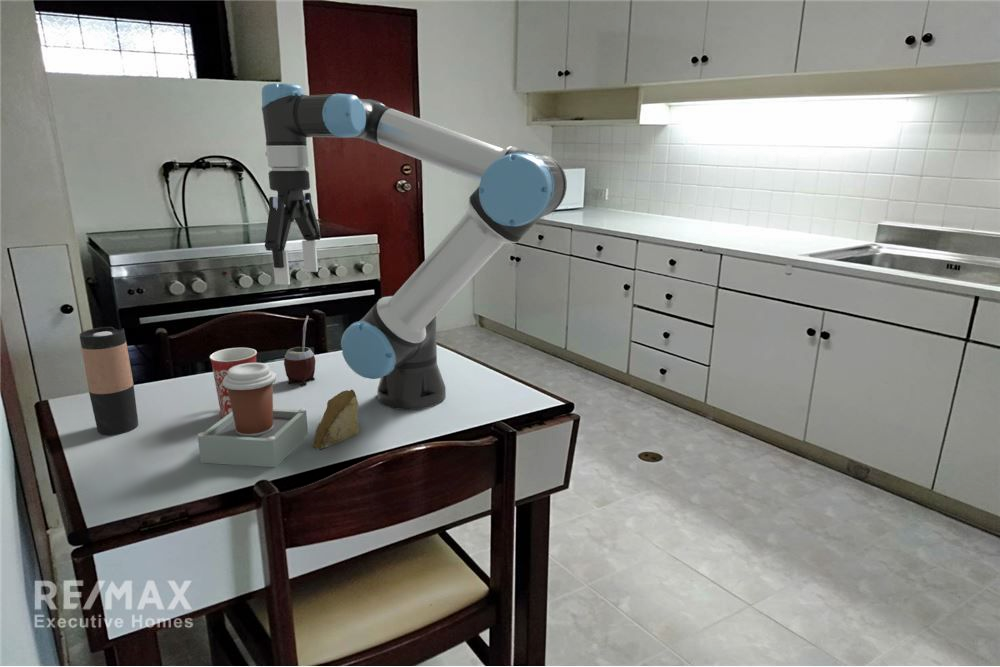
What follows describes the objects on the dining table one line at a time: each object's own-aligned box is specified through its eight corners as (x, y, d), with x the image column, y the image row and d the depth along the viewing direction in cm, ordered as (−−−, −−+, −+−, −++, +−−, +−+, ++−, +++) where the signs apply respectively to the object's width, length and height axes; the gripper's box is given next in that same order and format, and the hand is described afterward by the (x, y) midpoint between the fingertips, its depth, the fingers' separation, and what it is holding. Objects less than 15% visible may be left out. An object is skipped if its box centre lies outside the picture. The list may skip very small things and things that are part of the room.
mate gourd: (290, 388, 153) (284, 326, 149) (282, 379, 160) (276, 319, 156) (322, 383, 157) (317, 322, 153) (313, 373, 163) (308, 315, 159)
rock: (316, 446, 119) (369, 428, 123) (301, 402, 121) (353, 386, 125) (312, 459, 128) (361, 442, 132) (298, 418, 130) (347, 402, 134)
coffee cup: (286, 419, 126) (281, 360, 123) (272, 440, 118) (266, 376, 114) (238, 420, 126) (231, 360, 123) (220, 440, 117) (212, 377, 114)
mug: (264, 419, 136) (258, 357, 132) (217, 426, 133) (209, 362, 129) (260, 398, 147) (254, 341, 144) (216, 404, 144) (209, 345, 140)
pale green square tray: (308, 434, 129) (306, 408, 127) (275, 467, 115) (273, 439, 114) (240, 430, 131) (237, 404, 129) (200, 462, 117) (196, 434, 116)
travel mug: (95, 438, 127) (76, 339, 122) (97, 424, 133) (80, 329, 128) (139, 431, 130) (124, 333, 125) (140, 417, 137) (125, 324, 131)
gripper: (297, 167, 140) (305, 266, 146) (237, 171, 116) (249, 289, 122) (331, 167, 139) (338, 267, 145) (277, 171, 115) (288, 290, 121)
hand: (297, 277), depth 133 cm, fingers open, 13 cm apart
